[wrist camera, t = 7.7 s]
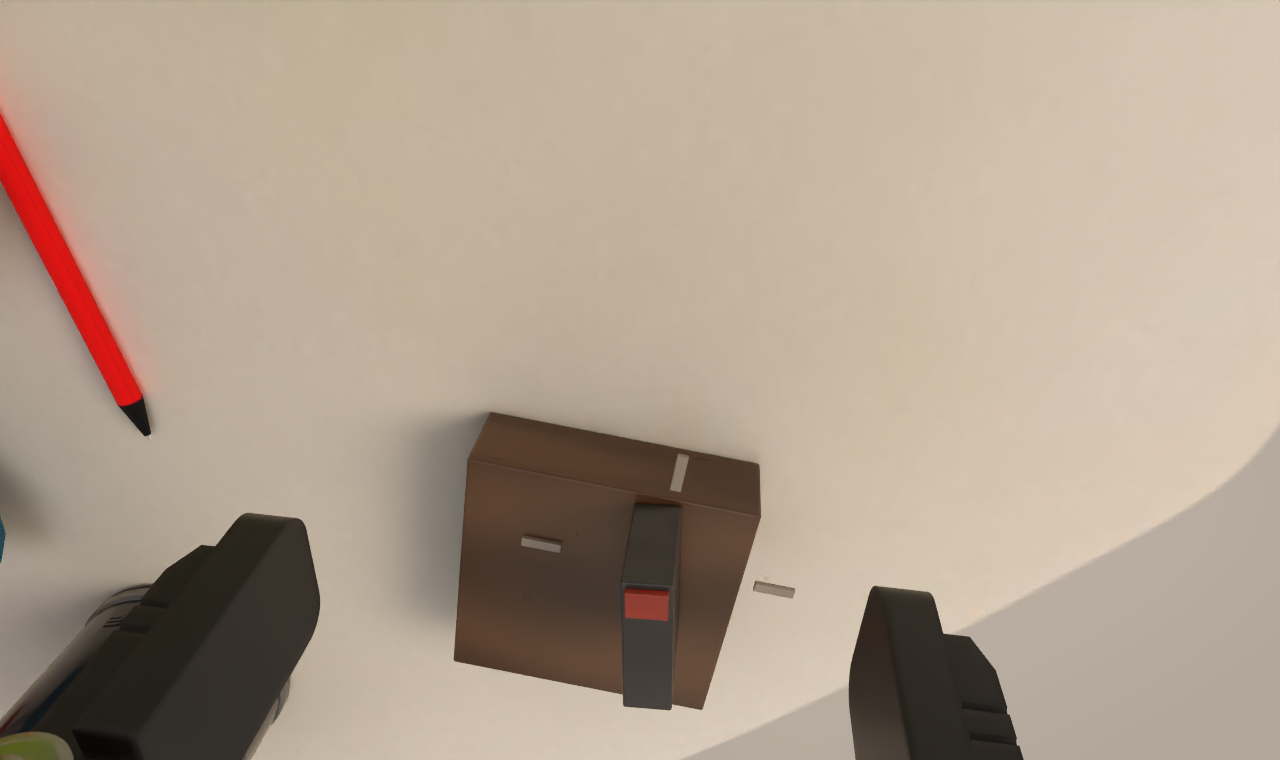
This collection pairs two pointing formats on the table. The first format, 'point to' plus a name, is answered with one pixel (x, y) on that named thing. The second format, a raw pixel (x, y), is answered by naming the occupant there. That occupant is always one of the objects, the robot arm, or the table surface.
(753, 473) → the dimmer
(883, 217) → the table surface
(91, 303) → the pen
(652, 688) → the dark grey block
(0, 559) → the ornament
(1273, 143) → the table surface
